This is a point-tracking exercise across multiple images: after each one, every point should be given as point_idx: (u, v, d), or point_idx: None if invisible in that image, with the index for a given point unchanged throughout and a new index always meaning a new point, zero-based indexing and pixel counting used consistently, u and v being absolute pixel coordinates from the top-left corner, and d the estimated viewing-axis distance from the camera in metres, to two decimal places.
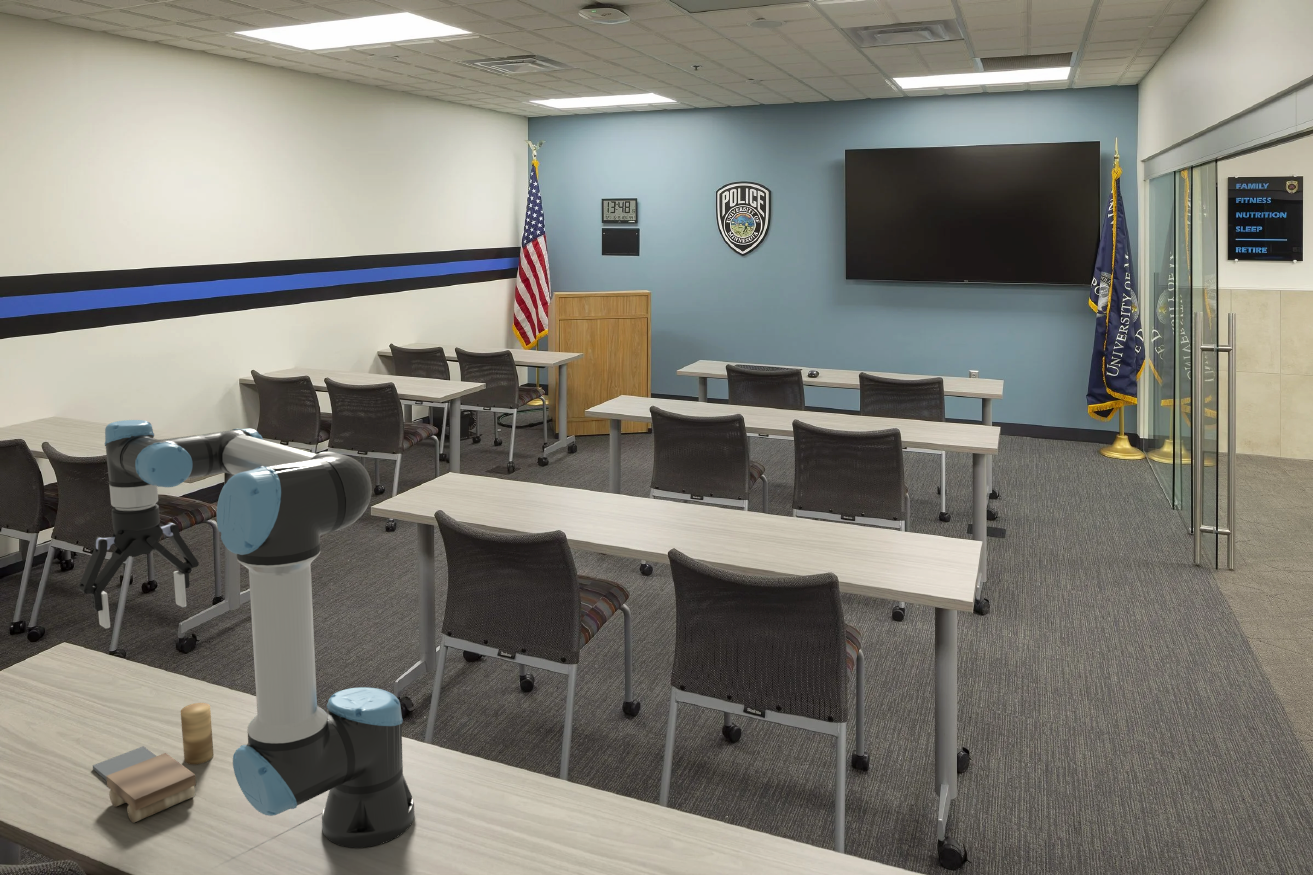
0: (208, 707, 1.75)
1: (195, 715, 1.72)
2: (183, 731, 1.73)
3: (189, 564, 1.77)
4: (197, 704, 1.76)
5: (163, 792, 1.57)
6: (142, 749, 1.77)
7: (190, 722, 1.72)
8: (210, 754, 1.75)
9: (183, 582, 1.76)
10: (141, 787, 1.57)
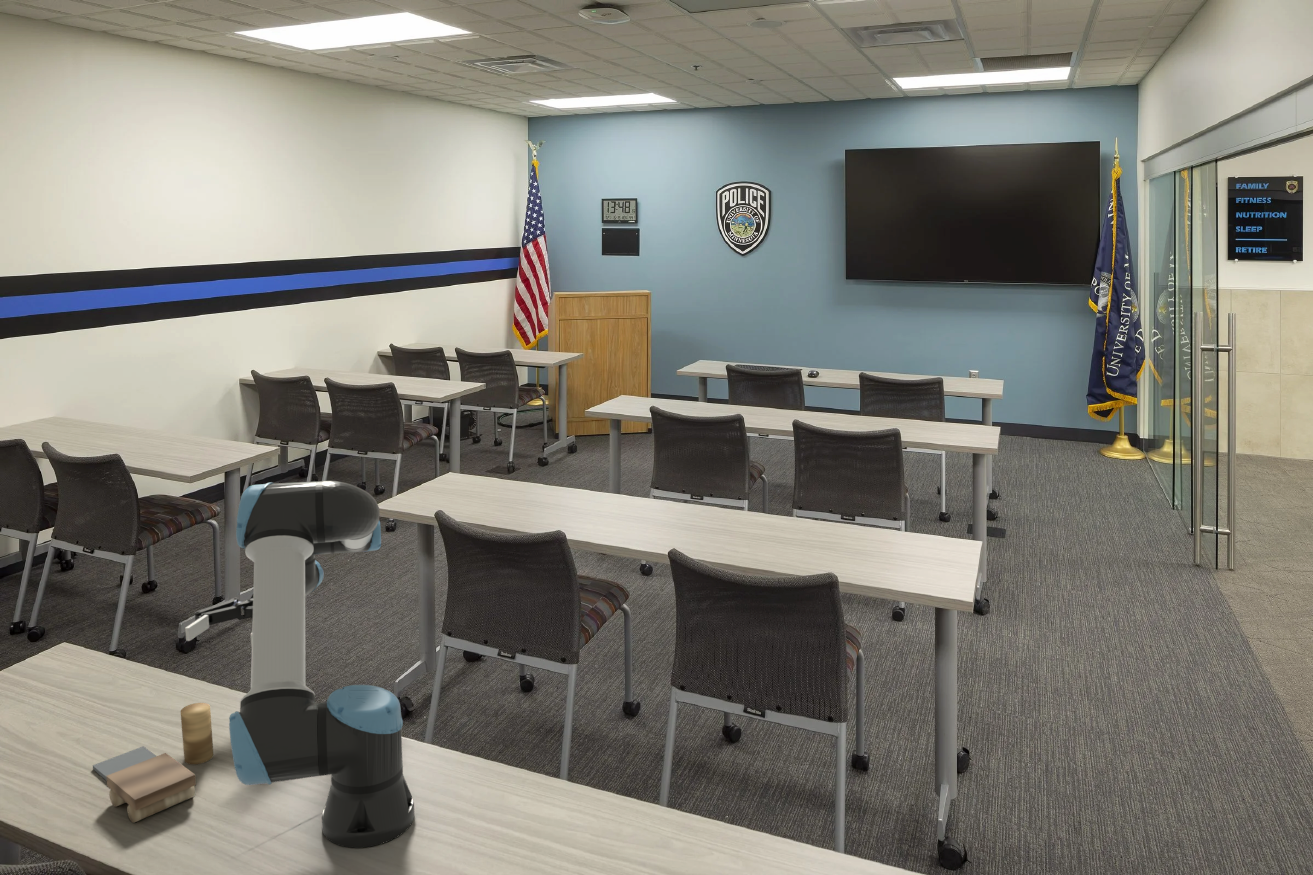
0: (208, 707, 1.75)
1: (195, 715, 1.72)
2: (183, 731, 1.73)
3: None
4: (197, 704, 1.76)
5: (163, 792, 1.57)
6: (142, 749, 1.77)
7: (190, 722, 1.72)
8: (210, 754, 1.75)
9: None
10: (141, 787, 1.57)
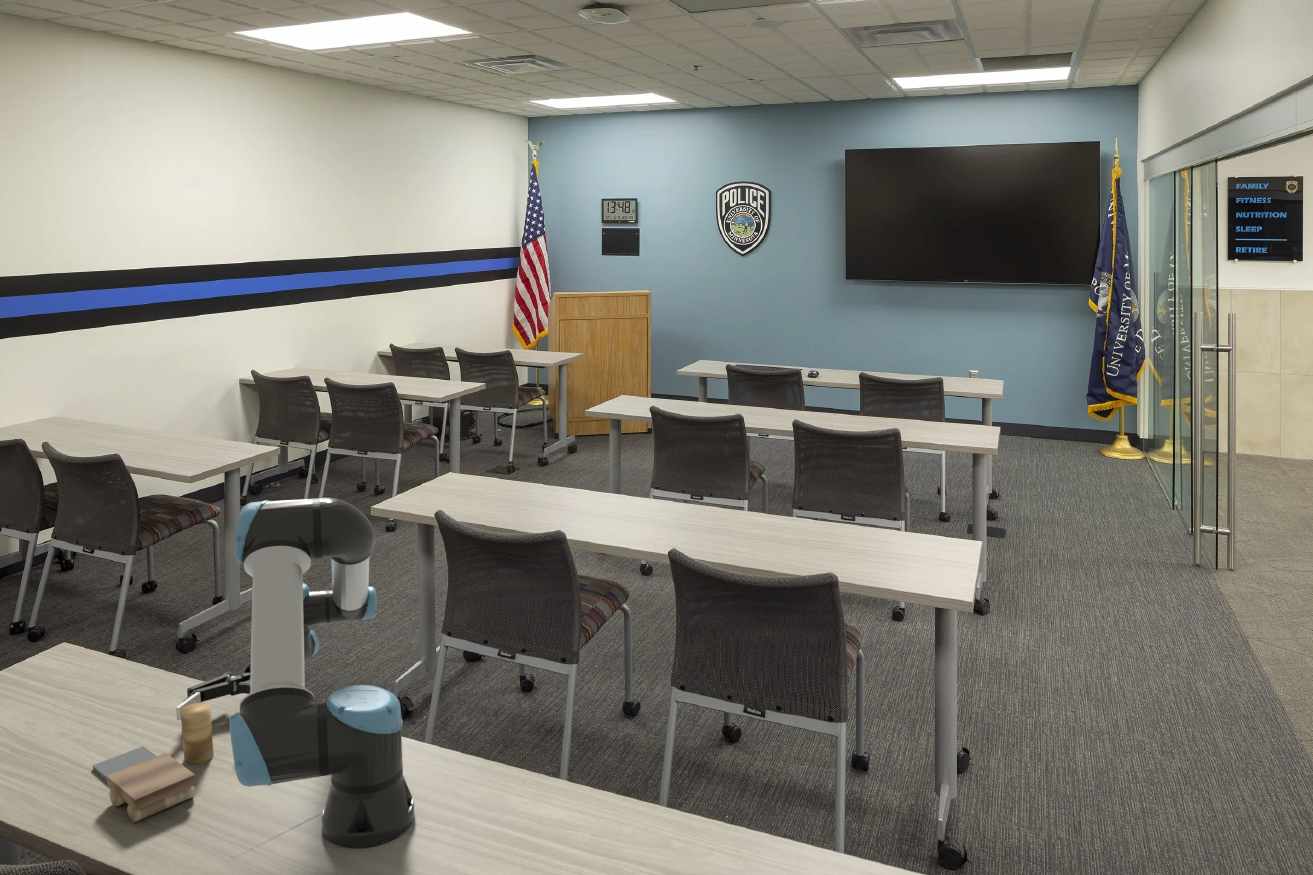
0: (208, 707, 1.75)
1: (195, 715, 1.72)
2: (183, 731, 1.73)
3: None
4: (197, 704, 1.76)
5: (163, 792, 1.57)
6: (142, 749, 1.77)
7: (190, 722, 1.72)
8: (210, 754, 1.75)
9: None
10: (141, 787, 1.57)
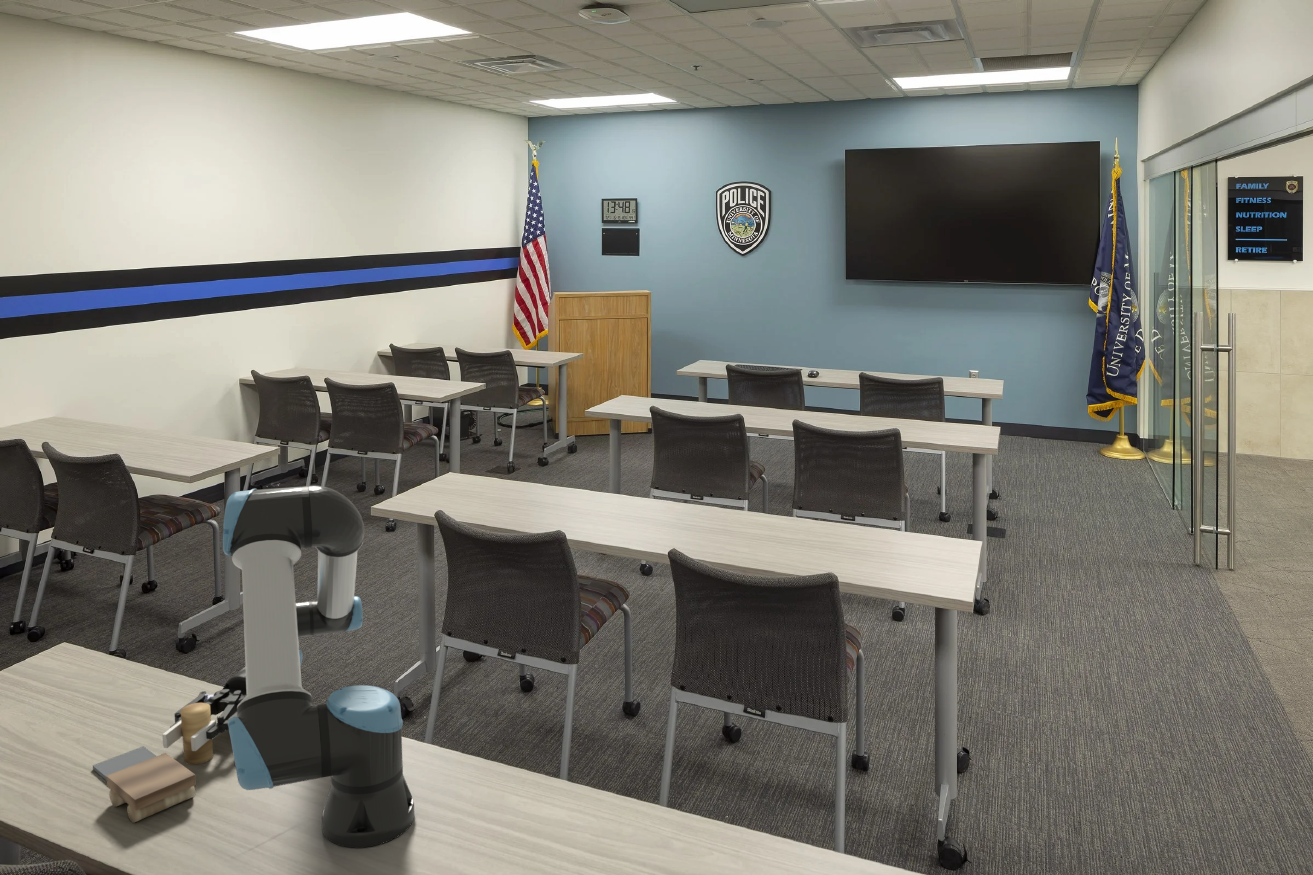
0: (208, 707, 1.75)
1: (195, 715, 1.72)
2: (183, 731, 1.73)
3: (227, 720, 1.77)
4: (197, 704, 1.76)
5: (163, 792, 1.57)
6: (142, 749, 1.77)
7: (190, 721, 1.72)
8: (210, 754, 1.75)
9: (209, 724, 1.74)
10: (141, 787, 1.57)
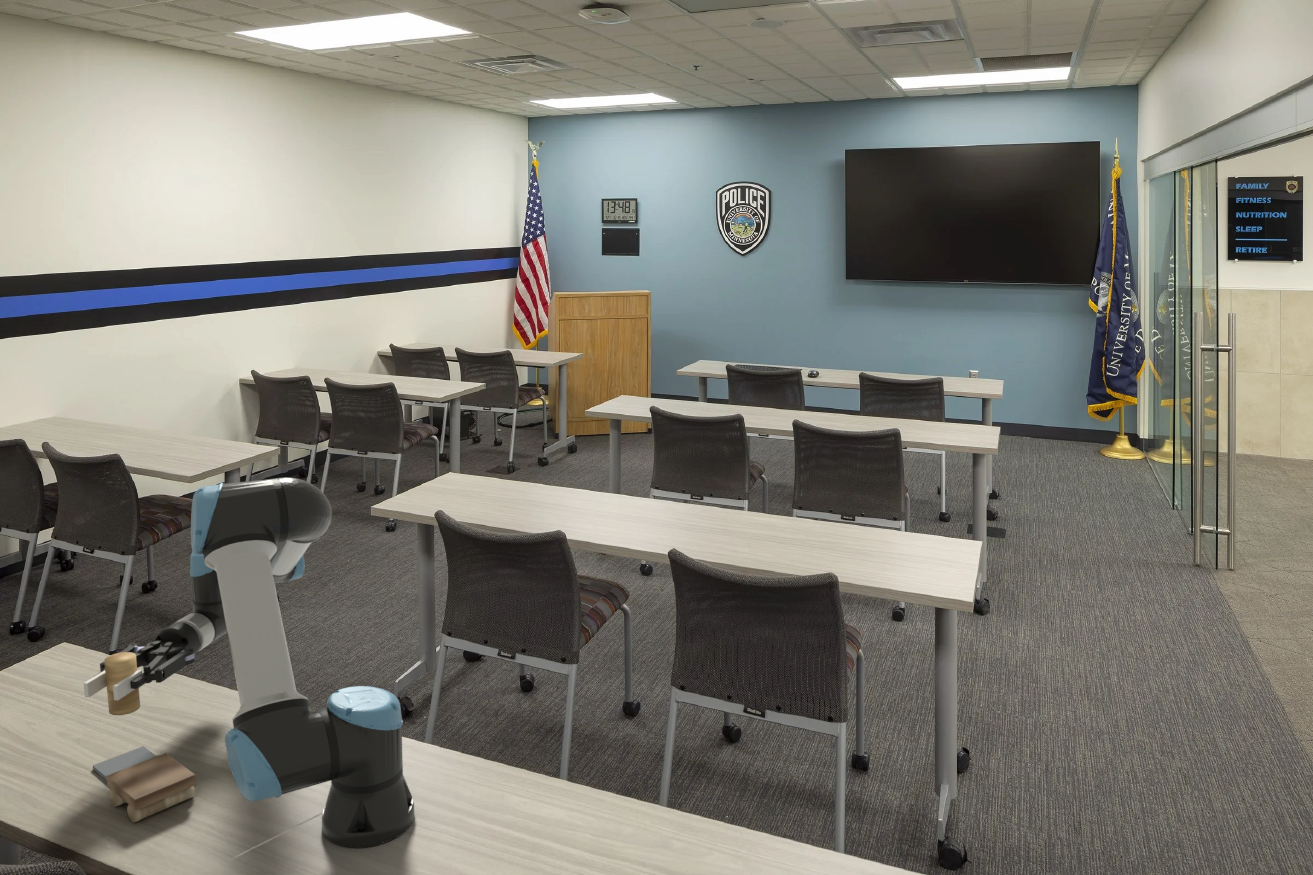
0: (134, 656, 1.68)
1: (119, 663, 1.66)
2: (107, 680, 1.66)
3: (154, 670, 1.70)
4: (123, 653, 1.69)
5: (163, 792, 1.57)
6: (142, 749, 1.77)
7: (114, 670, 1.66)
8: (136, 705, 1.69)
9: (134, 673, 1.67)
10: (141, 787, 1.57)
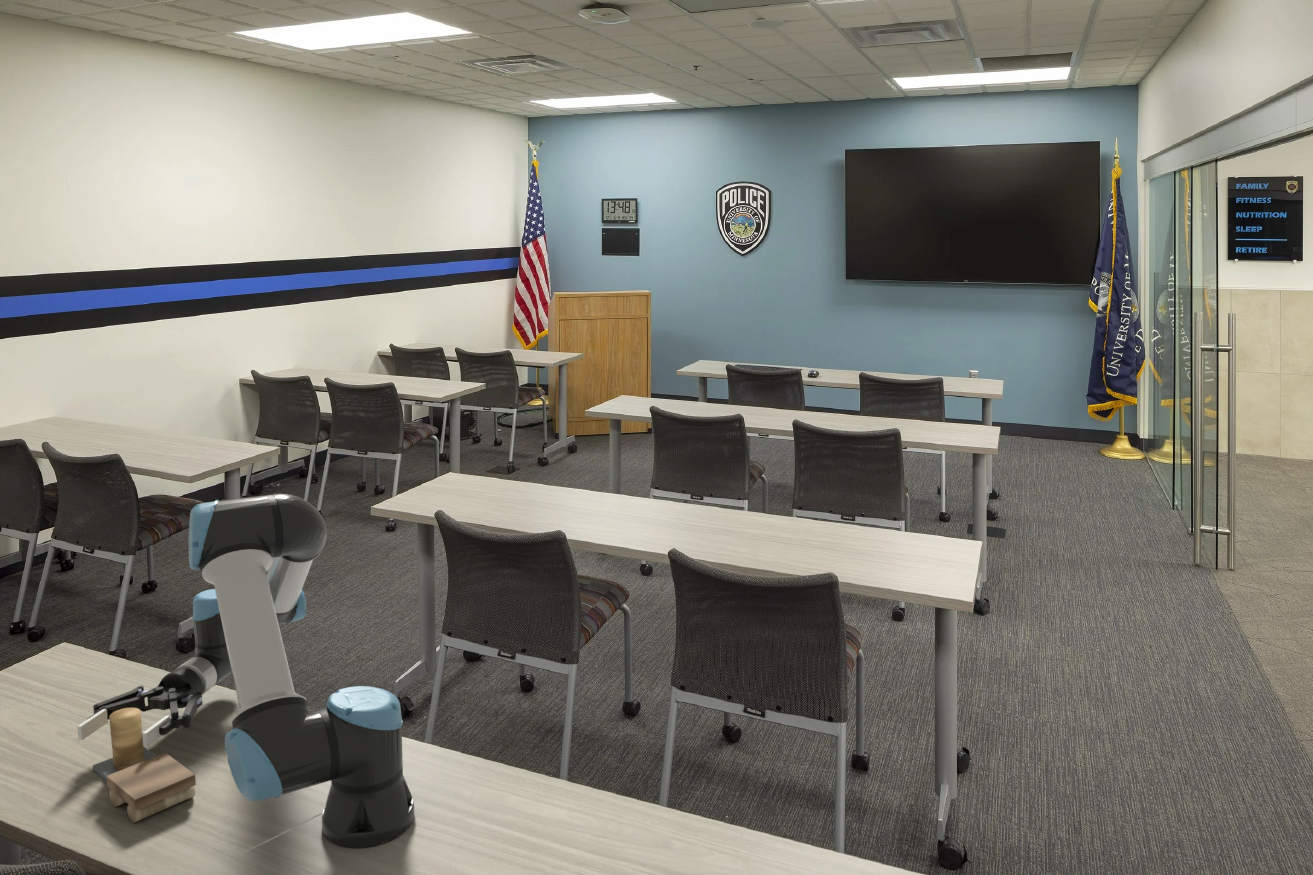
0: (138, 712, 1.71)
1: (124, 720, 1.68)
2: (112, 737, 1.69)
3: (181, 716, 1.73)
4: (127, 709, 1.72)
5: (163, 792, 1.57)
6: None
7: (119, 727, 1.68)
8: (140, 760, 1.71)
9: (162, 719, 1.70)
10: (141, 787, 1.57)
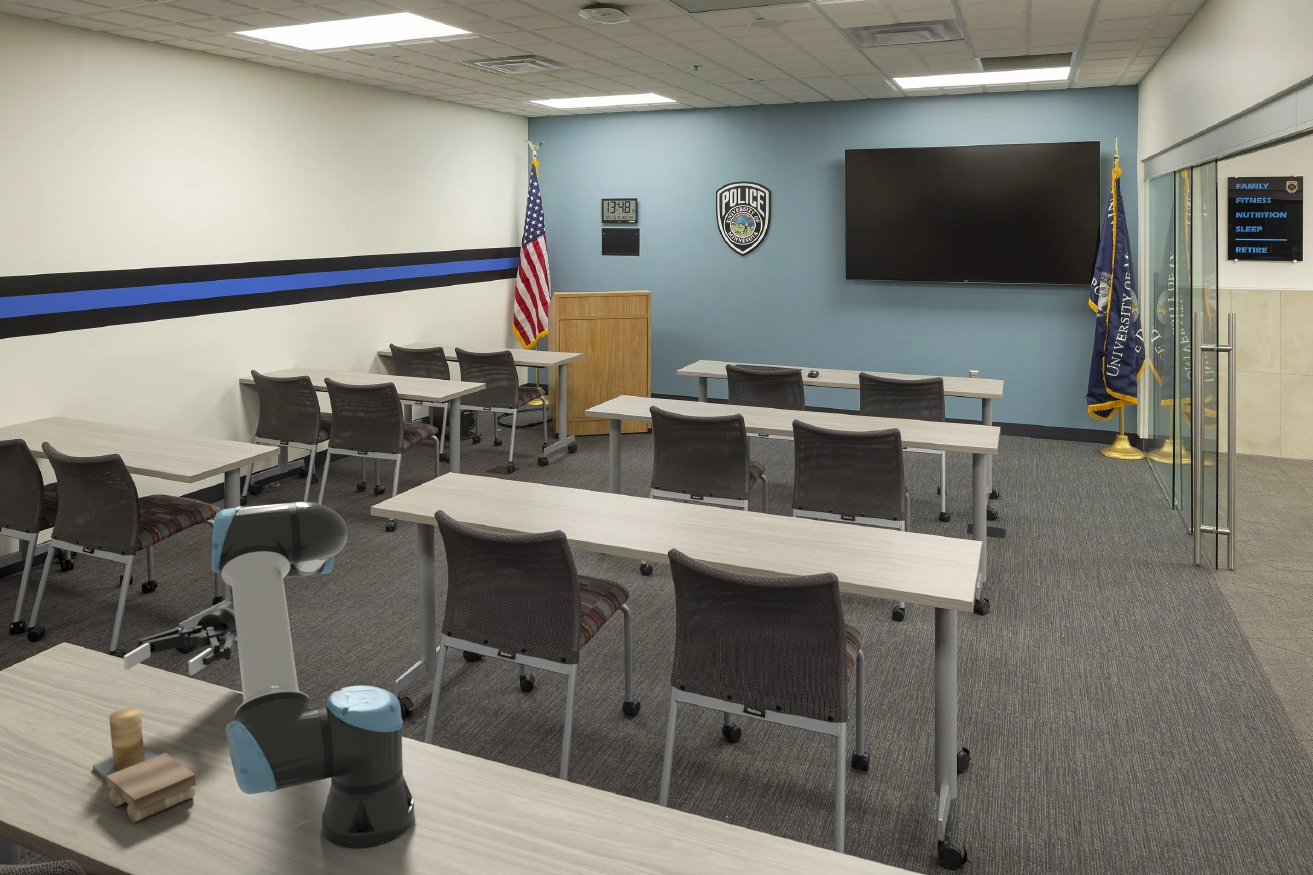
0: (138, 712, 1.71)
1: (124, 720, 1.68)
2: (112, 737, 1.69)
3: (223, 649, 1.85)
4: (127, 709, 1.72)
5: (163, 792, 1.57)
6: None
7: (119, 727, 1.68)
8: (140, 760, 1.71)
9: (206, 651, 1.82)
10: (141, 787, 1.57)
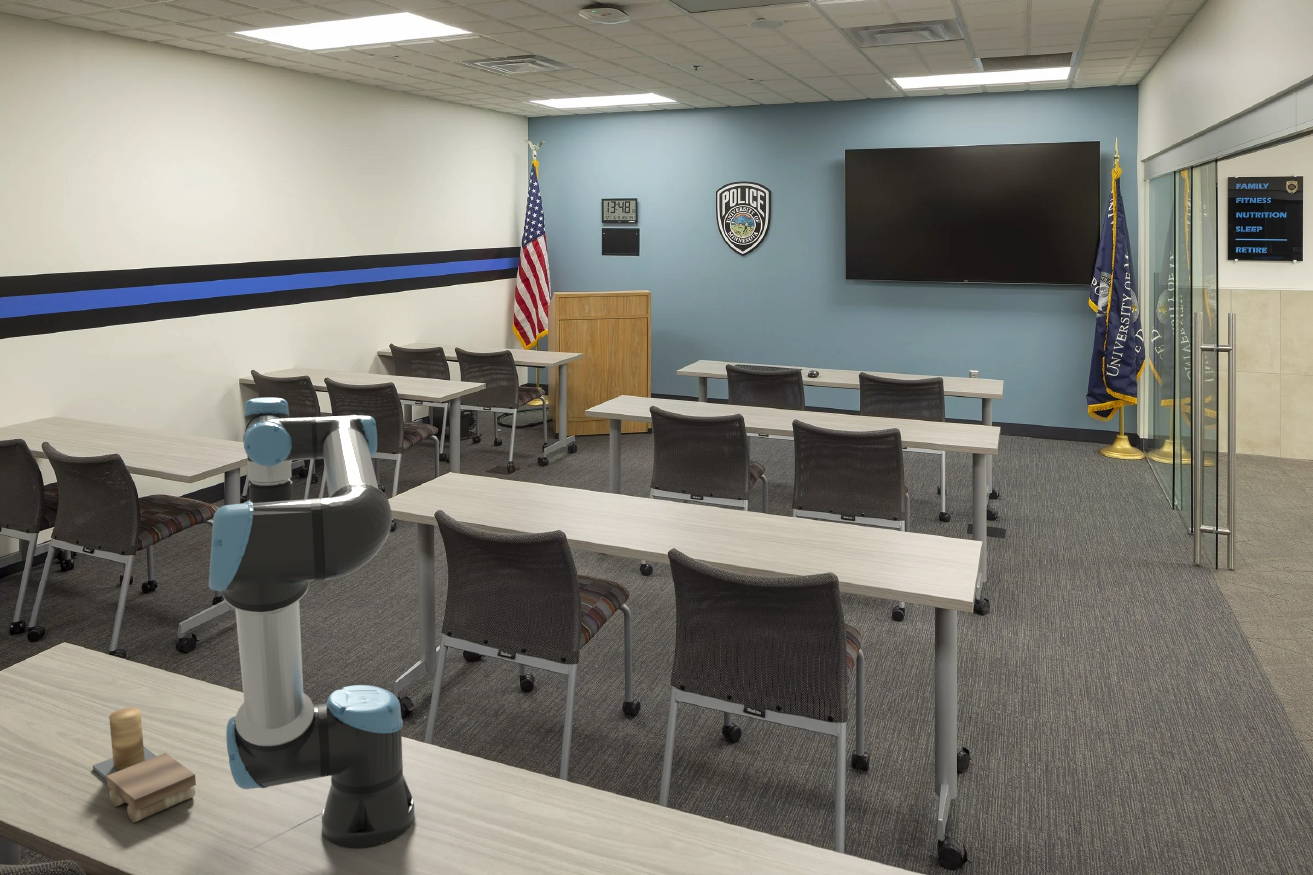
0: (138, 712, 1.71)
1: (124, 720, 1.68)
2: (112, 737, 1.69)
3: None
4: (127, 709, 1.72)
5: (163, 792, 1.57)
6: None
7: (119, 727, 1.68)
8: (140, 760, 1.71)
9: None
10: (141, 787, 1.57)
